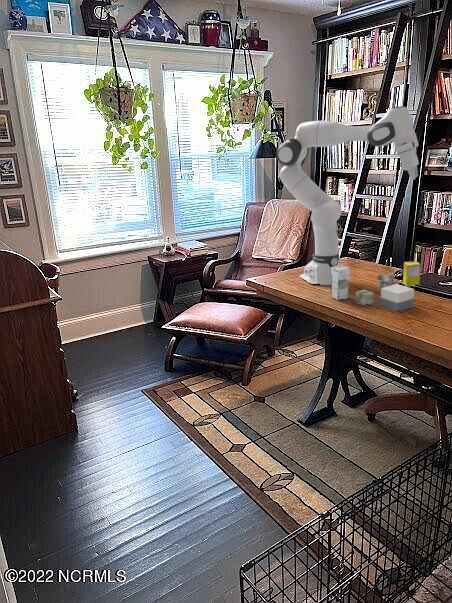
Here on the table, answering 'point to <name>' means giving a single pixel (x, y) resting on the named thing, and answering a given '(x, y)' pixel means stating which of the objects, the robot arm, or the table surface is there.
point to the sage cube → (364, 297)
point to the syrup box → (340, 282)
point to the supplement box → (411, 274)
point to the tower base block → (396, 304)
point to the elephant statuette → (385, 281)
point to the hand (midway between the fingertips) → (414, 178)
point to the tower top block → (397, 293)
